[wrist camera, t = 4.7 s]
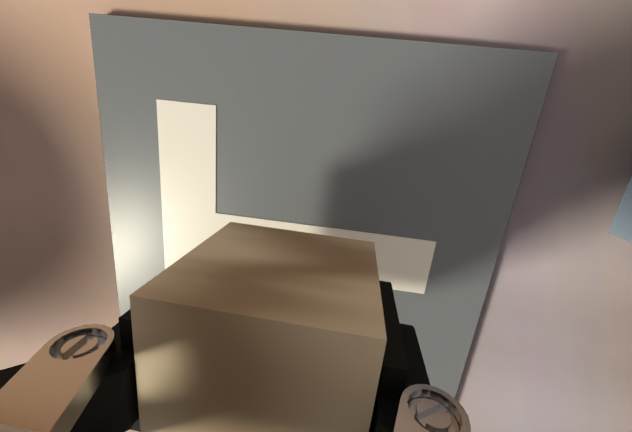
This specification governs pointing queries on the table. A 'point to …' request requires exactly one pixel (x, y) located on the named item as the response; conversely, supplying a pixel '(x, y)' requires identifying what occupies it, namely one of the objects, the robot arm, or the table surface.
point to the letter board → (320, 154)
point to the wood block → (261, 335)
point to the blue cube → (624, 216)
